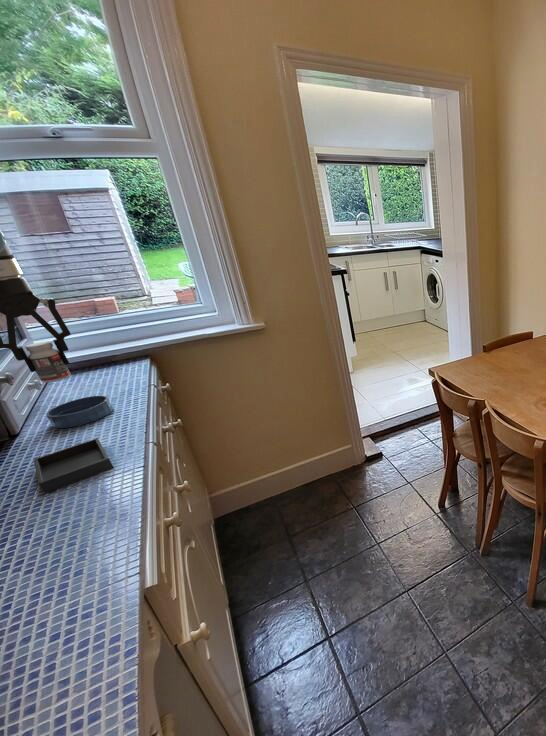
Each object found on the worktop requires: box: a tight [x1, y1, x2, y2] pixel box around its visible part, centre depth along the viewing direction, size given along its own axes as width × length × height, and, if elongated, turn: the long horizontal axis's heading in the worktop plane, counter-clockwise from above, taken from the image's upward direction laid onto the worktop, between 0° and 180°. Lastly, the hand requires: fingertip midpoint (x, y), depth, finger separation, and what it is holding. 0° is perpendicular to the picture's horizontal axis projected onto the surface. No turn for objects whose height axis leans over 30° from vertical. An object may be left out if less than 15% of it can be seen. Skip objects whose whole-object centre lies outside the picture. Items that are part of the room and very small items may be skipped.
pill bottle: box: [24, 340, 72, 383], centre depth 108 cm, size 6×6×10 cm
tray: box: [33, 437, 115, 494], centre depth 95 cm, size 15×11×3 cm
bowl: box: [45, 395, 114, 429], centre depth 118 cm, size 13×13×4 cm
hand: (50, 366), depth 109 cm, fingers closed on pill bottle, 6 cm apart
